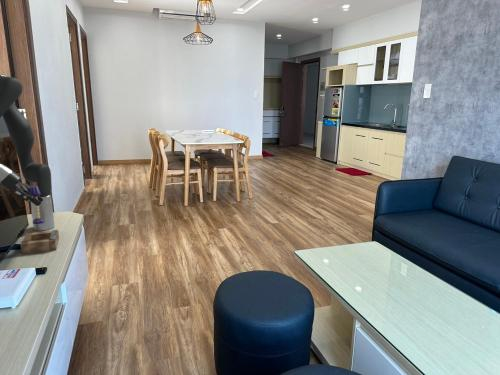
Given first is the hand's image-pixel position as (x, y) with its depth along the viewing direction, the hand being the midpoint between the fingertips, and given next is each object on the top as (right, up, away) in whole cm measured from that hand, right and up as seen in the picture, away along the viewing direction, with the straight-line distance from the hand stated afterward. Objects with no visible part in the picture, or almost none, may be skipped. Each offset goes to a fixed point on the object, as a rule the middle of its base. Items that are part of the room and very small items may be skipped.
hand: (40, 202), depth 154 cm
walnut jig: (-2, -20, +4) cm, 20 cm away
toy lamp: (-2, -9, +1) cm, 9 cm away
